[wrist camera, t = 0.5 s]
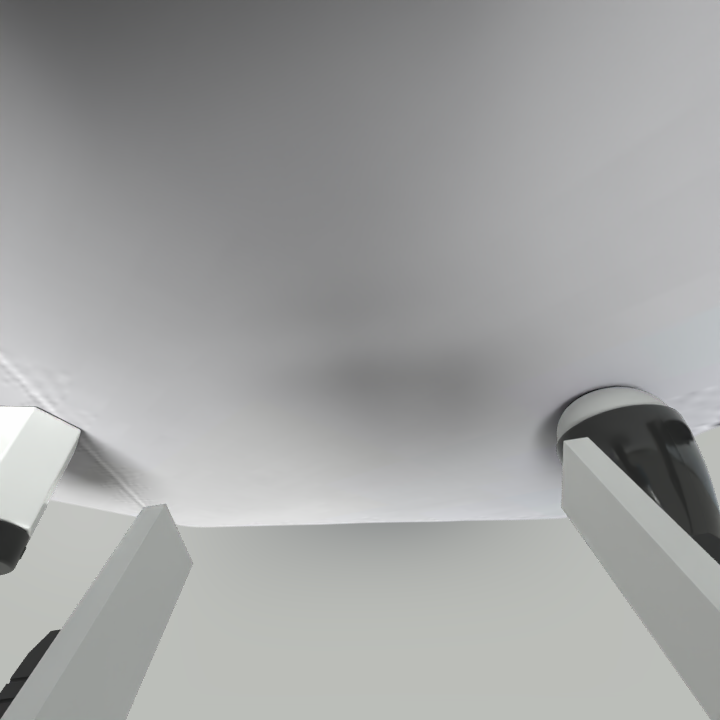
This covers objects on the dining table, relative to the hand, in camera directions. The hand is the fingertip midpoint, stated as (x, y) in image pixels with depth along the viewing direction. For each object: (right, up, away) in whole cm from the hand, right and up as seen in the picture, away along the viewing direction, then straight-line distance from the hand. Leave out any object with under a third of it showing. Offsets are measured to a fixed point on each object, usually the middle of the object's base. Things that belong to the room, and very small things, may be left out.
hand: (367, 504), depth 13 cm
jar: (-32, -2, +25) cm, 40 cm away
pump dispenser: (+22, +1, +24) cm, 33 cm away
